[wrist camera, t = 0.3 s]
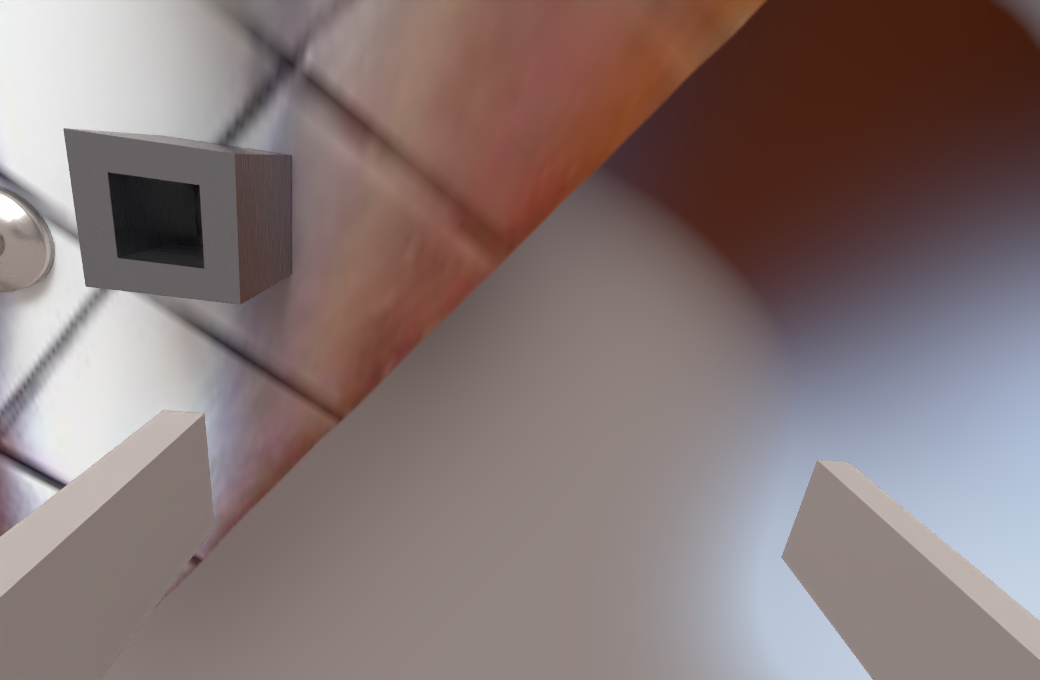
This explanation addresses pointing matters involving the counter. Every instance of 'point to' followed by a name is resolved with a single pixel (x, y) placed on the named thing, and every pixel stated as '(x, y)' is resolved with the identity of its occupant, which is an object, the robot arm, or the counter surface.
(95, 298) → the counter surface
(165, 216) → the block
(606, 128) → the counter surface
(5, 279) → the hub
